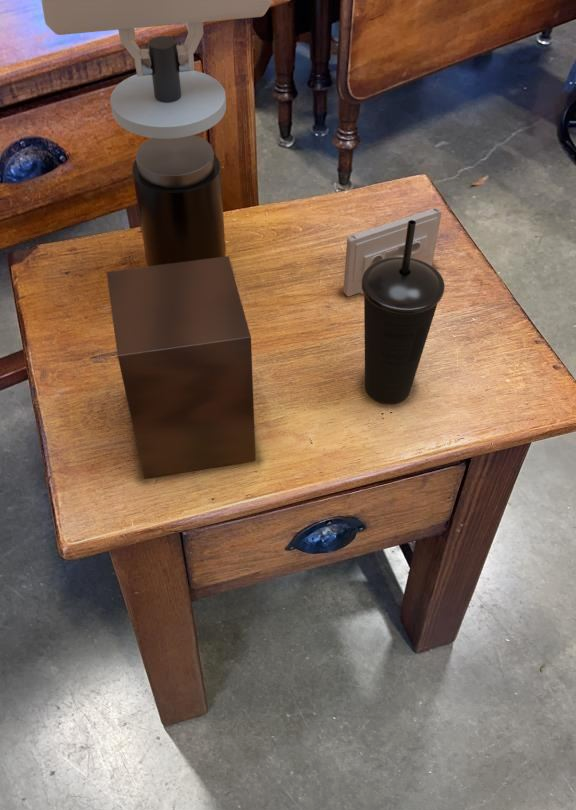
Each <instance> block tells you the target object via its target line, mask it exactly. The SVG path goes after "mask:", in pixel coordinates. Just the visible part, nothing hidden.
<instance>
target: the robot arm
mask: <svg viewBox="0 0 576 810" xmlns="http://www.w3.org/2000/svg"><path fill="white" fill-rule="evenodd" d="M271 5H272V0H41V6H42V12H43V18H44V24H45V25H46V26H47V27H48V28H49V29H50V30H51V31H52V32H53V33H54V34H55V35H58V36H65V35H74V34H75V35H76V34H87V33H95V32H96V33H97V32H108V31H118V35H119V41H120V43H121V44H122V45H123V47H124V48H125V49H126V51H127V52H128V53H129V55H130V56H131V57H132V59H134V66H135V71H136V74H137V76H146V75H153V72H152V67H151V65H152V64H151V57H150V54H149V48H140V47H139V46H138V44H137V42H136V41H135V40H136V31H135V29H141V28H152V27H153V28H154V27H162V26H172V25H173V26H174V25H184V24H185V25H186V30H187V35H186V38H185V40H184V42H183V44H181V45H177V57H178V67H179V72H187V71H195V58H194V54H195V52H196V51H197V49H198V47H199V45H200V42H201V40H202V38H203V37H204V23H206V22H218V21H229V20H230V21H231V20H241V19H251V18H253V19H254V18H261V17H264V16H265V15H266V13H267V12H268V10H269V8H270V7H271Z"/></svg>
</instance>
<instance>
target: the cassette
mask: <svg viewBox="0 0 576 810" xmlns="http://www.w3.org/2000/svg"><path fill="white" fill-rule="evenodd" d="M441 218H442V211H440V210H439V209H438V208H437V207H434V208H431V209H428V210H425V211H422V212H419V213H416V214H413V215H409V216H407V217H403V218H401V219H397V220H395V221H391V222H388V223H385V224H382V225H379V226H376V227H373V228H370V229H367V230H363V231H360V232H357V233H354V234H351V235H349V236H348V237H347V239H346V247H345V248H346V250H345V260H344V276H343V286H342V287H343V288H342V292H343V293H344V295H346V297H351V296H352V297H353V296H354V295H357V294H360V295H364V293H363V290H362V277H363V274H364V272H365V271H366V270H367V268H368V267H369V266H371V265H372V264H374V263H375V262H377V261H380V260H383V259H386V258H392V257H403V255H404V248H405V241H406V234H407V227H408V221H410V220H414V221H415V222H416V226H415V233H414V239H413V246H412V252H411V258H413V259H417V260H420V261H423V262H425V263H427V264H429V265H431V266H432V267H433V264H434V257H435V251H436V247H437V240H438V237H439V236H438V235H439V230H440V224H441Z"/></svg>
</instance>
